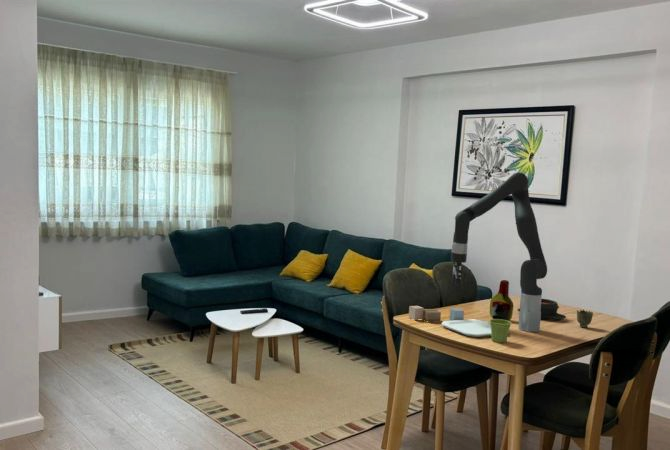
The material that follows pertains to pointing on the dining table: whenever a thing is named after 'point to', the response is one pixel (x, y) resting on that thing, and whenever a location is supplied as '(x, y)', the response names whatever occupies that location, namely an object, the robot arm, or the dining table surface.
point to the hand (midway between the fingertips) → (456, 284)
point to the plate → (469, 327)
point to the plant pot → (499, 330)
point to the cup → (584, 318)
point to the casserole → (549, 310)
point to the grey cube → (456, 314)
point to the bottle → (502, 303)
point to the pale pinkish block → (416, 312)
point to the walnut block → (431, 315)
